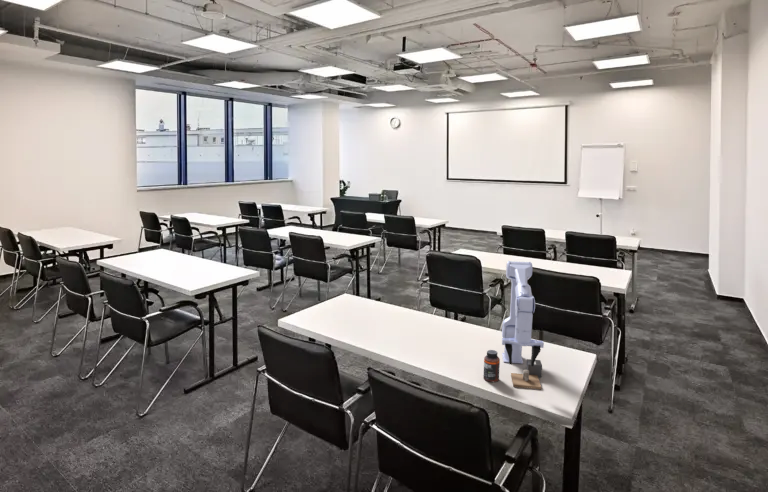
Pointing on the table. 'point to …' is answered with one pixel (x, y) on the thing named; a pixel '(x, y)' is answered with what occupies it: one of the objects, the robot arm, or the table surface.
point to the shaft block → (525, 380)
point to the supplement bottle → (491, 366)
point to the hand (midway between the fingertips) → (521, 364)
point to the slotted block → (534, 367)
